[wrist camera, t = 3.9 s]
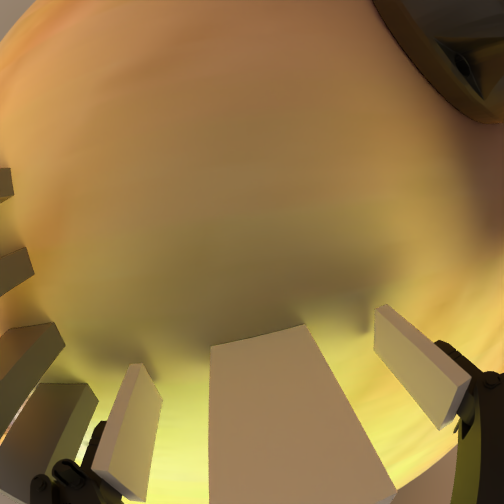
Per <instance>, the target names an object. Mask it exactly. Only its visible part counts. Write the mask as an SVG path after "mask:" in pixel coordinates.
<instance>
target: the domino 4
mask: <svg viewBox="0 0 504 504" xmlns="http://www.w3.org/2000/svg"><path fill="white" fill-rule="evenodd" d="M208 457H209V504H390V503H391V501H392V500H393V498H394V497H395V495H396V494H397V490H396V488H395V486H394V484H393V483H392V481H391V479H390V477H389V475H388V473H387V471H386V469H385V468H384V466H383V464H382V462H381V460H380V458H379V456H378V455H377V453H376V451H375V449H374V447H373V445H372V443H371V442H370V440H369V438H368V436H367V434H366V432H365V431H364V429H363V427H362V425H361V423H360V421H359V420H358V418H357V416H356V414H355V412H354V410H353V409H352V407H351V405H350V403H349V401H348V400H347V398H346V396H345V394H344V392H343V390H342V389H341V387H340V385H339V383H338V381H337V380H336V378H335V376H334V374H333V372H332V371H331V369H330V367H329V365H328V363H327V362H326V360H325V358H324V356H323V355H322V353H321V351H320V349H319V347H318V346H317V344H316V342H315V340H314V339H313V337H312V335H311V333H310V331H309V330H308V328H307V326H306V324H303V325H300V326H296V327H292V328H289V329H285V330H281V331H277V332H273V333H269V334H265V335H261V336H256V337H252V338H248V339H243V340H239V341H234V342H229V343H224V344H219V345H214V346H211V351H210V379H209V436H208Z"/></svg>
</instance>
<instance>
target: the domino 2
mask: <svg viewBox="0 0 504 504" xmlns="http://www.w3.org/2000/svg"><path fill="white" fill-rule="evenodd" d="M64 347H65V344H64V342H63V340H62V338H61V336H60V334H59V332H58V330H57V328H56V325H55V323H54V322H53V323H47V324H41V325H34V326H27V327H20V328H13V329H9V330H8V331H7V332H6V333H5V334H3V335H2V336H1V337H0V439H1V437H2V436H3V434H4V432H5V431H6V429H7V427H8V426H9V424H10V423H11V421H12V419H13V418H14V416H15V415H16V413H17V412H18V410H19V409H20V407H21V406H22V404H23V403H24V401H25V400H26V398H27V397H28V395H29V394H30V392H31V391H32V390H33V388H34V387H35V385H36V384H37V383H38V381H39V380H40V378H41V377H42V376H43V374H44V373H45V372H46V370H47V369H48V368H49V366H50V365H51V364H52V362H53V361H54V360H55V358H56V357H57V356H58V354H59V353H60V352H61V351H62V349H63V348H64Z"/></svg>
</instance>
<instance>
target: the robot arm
mask: <svg viewBox="0 0 504 504" xmlns="http://www.w3.org/2000/svg"><path fill="white" fill-rule="evenodd" d="M373 2H374V4H375V6H376V8H377V10H378V12H379V13H380V15H381V17H382V19H383V20H384V22H385V23H386V25H387V27H388V28H389V30H390V31H391V33H392V34H393V36H394V37H395V39H396V40H397V41H398V43H399V44H400V46H401V47H402V48H403V50H404V51H405V52H406V54H407V55H408V56H409V58H410V59H411V60H412V61H413V63H414V64H415V65H416V67H417V68H418V69H419V70H420V71H421V73H422V74H423V75H424V76H425V77H426V78H427V80H428V81H429V82H430V83H431V84H432V85H433V86H434V87H435V88H436V90H437V91H438V92H439V93H440V94H441V95H442V96H443V97H444V98H445V99H446V100H447V101H449V102H450V103H451V104H452V105H453V106H454V107H455V108H456V109H458V110H459V111H460V112H462V113H463V114H464V115H466V116H467V117H469V118H471V119H473V120H475V121H477V122H480V123H484V124H494V123H504V0H373ZM374 351H375V353H376V354H377V355H378V356H379V357H380V358H381V360H382V361H383V362H384V363H385V364H386V366H387V367H388V368H389V369H390V370H391V372H392V373H393V374H394V375H395V377H396V378H397V379H398V380H399V381H400V383H401V384H402V385H403V386H404V388H405V389H406V390H407V391H408V392H409V394H410V395H411V396H412V397H413V399H414V400H415V401H416V402H417V404H418V405H419V406H420V407H421V409H422V410H423V411H424V412H425V414H426V415H427V416H428V417H429V419H430V420H431V421H432V422H433V424H434V425H435V426H436V428H437V429H438V430H441V429H443V428H444V427H446V426H447V425H449V424H450V423H452V422H453V420H454V418H455V415H456V413H457V414H458V416H459V417H460V419H459V421H458V423H457V425H456V427H455V429H454V432H453V433H456V431H457V430H458V451H457V462H456V472H455V479H454V486H453V492H452V498H451V503H450V504H504V373H502V374H498V373H496V372H494V371H487V372H484V373H483V372H482V371H481V370H480V369H478V368H477V367H476V366H475V365H474V364H473V363H471V362H470V361H469V360H468V359H467V358H466V357H464V356H462V354H461V353H460V352H458V351H456V349H455V348H454V347H452V346H451V345H450V344H449V343H446V342H444V341H441V340H438V341H436V342H434V343H433V342H432V341H431V340H429V339H428V338H427V337H426V336H425V335H424V334H422V333H421V332H420V331H419V330H418V329H416V328H415V327H414V326H413V325H412V324H411V323H409V322H408V321H407V320H406V319H405V318H403V317H402V316H401V315H400V314H398V313H397V312H396V311H395V310H394V309H392V308H391V307H390V306H389V305H387V304H386V305H383V306H380V307H377V308H375V323H374ZM162 402H163V399H162V398H161V396H160V394H159V392H158V391H157V389H156V387H155V385H154V383H153V381H152V380H151V378H150V376H149V374H148V372H147V370H146V368H145V366H144V364H143V363H136V364H130V365H129V367H128V370H127V372H126V374H125V377H124V379H123V382H122V384H121V387H120V389H119V392H118V394H117V397H116V399H115V402H114V404H113V407H112V410H111V412H110V415H109V417H108V420H107V421H100V423H99V424H98V425H97V426H96V427H95V429H94V431H93V434H92V436H91V438H92V439H90V442H89V446H88V447H87V450H86V452H85V455H84V458H83V461H82V464H81V467H79V466H78V465H77V464H76V463H75V462H74V461H72V460H71V459H61V460H59V461H58V462H56V464H55V465H54V466H53V468H52V476H53V477H54V478H55V479H56V480H52V479H50V478H49V477H48V476H47V475H45V474H38V475H36V476H35V477H33V479H32V481H31V484H30V504H124V503H123V502H122V501H121V498H122V495H123V496H124V497H126V498H127V499H128V500H130V501H139V502H146V495H147V488H148V481H149V474H150V468H151V461H152V455H153V449H154V444H155V438H156V433H157V427H158V422H159V417H160V412H161V407H162Z"/></svg>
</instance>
